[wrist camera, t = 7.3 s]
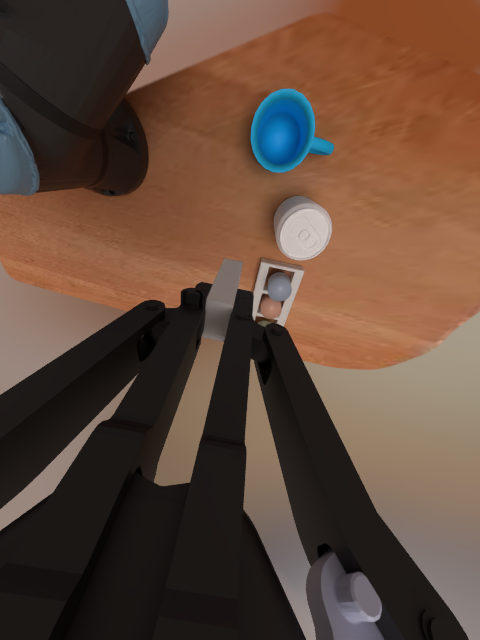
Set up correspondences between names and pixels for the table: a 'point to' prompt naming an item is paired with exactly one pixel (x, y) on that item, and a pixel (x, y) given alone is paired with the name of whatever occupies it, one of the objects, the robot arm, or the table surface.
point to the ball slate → (279, 287)
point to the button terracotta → (270, 307)
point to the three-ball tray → (261, 288)
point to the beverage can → (301, 228)
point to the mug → (285, 131)
